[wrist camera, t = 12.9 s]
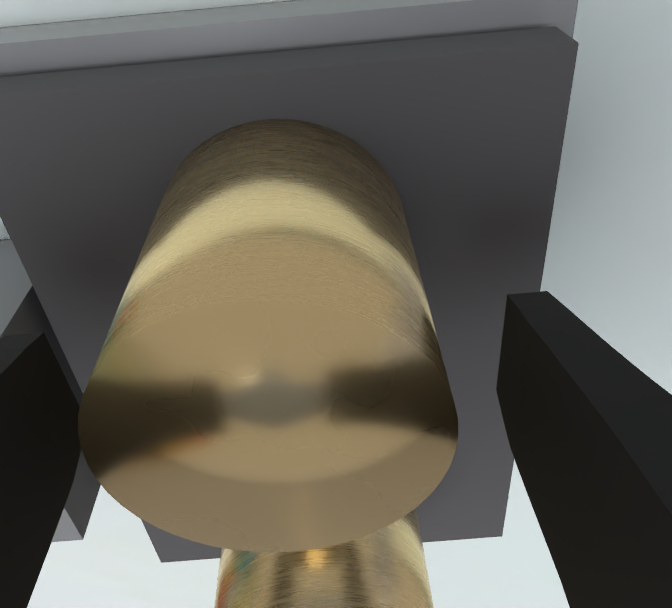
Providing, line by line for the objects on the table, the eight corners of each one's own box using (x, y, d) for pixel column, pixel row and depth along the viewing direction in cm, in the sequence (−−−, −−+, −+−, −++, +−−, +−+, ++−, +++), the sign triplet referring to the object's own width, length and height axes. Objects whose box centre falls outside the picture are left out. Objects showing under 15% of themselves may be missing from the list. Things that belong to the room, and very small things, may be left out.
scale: (553, -24, 13) (667, 37, 9) (493, 466, 22) (533, 602, 18) (-180, 44, 13) (-399, 134, 9) (74, 499, 22) (24, 640, 19)
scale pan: (555, 26, 11) (578, 42, 10) (492, 503, 20) (502, 536, 19) (-24, 79, 12) (-54, 100, 11) (168, 529, 21) (161, 562, 20)
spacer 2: (398, 525, 19) (427, 731, 14) (235, 527, 19) (214, 738, 14) (419, 412, 16) (464, 626, 11) (226, 411, 16) (194, 632, 11)
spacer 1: (405, 321, 14) (450, 539, 10) (190, 339, 14) (137, 563, 10) (404, 107, 11) (469, 282, 7) (130, 130, 11) (14, 319, 7)
